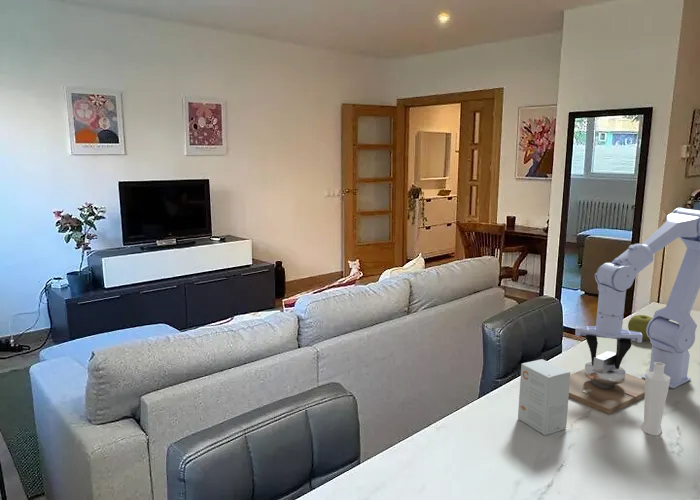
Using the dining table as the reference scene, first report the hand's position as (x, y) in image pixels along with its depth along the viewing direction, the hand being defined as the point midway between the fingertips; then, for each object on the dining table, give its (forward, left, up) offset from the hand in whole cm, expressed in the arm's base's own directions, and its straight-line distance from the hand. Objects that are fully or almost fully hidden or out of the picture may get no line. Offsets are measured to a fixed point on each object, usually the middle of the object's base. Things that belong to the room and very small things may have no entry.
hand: (604, 365), depth 130 cm
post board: (0, 0, -6) cm, 6 cm away
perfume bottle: (+10, +17, -6) cm, 21 cm away
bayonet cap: (+1, 0, -3) cm, 3 cm away
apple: (-43, -13, -6) cm, 45 cm away
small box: (+27, +2, -6) cm, 28 cm away
